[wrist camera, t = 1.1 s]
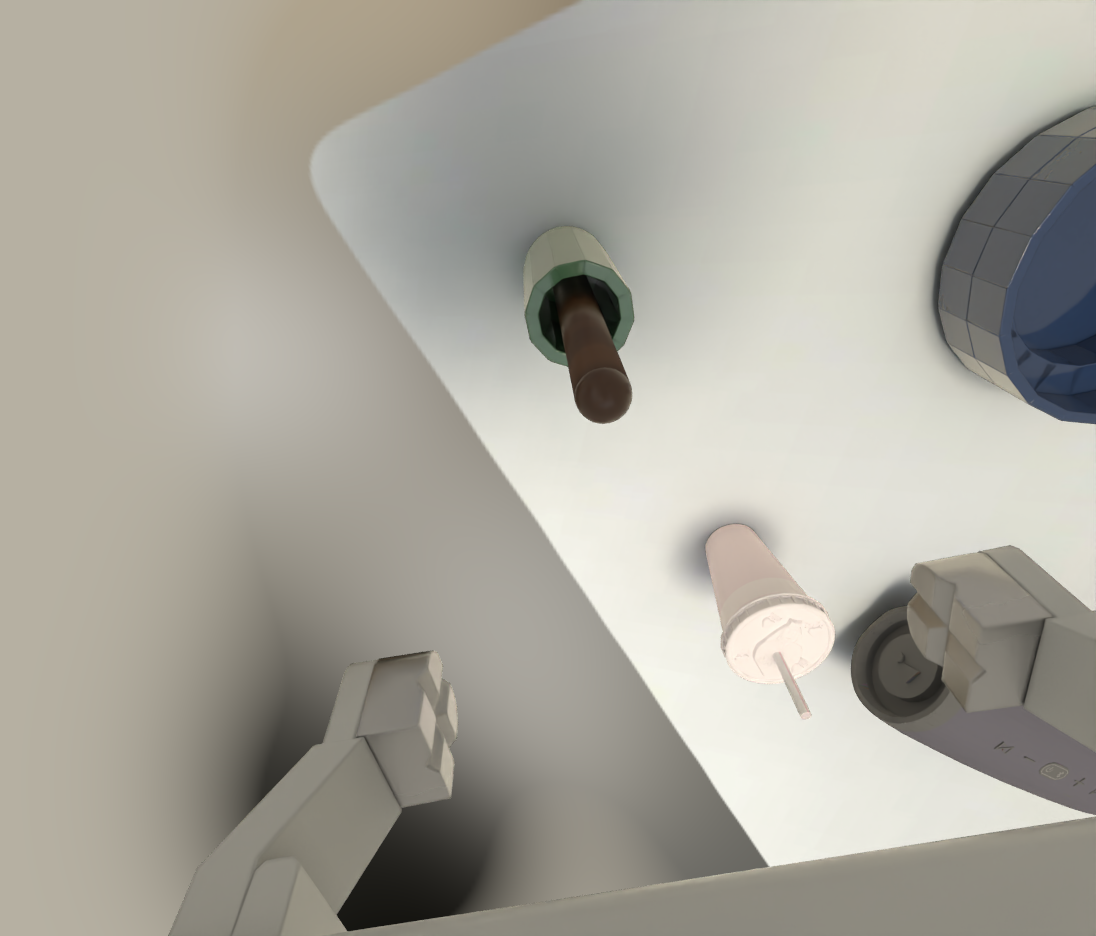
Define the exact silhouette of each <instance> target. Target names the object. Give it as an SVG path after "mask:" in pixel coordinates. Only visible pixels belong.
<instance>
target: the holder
mask: <svg viewBox="0 0 1096 936" xmlns="http://www.w3.org/2000/svg"><path fill="white" fill-rule="evenodd" d="M579 275H586V277H587V279H588V282H589V284H590V286H591V289H592V291H593V294H594V296H595V299H596V301H597V304H598V306H599V308H600V311H601V313H602V316H603V318H604V321H605V323H606V326H607V328H608V330H609V333H610V335H611V338H612V340H613V343H614V345H615V348H616V350H617V351H618V350H619V349H620V348H622V347H623V345H624V344H625V342H626V339H627V337H628V335H629V332H630V330H631V327H632V325H633V322H634V311H633V303H632V296H631V292H630V289H629V288H628V286H627V285H626V283H625V281H624V280H623V278H622V276H621V275H620V273H619V272H618V270H617V268H616V267H615V265H614V263H613V262H612V260H611V259H610V257H609V255H608V254H607V252H606V251H605V249H604V248H603V247H602V246H601V244H600V243H599V241H598V240H597V239H596V238H595V237H594V236H593V235H592V234H590V233H589V232H587V231H585V230H583V229H581V228H577V227H572V226H561V227H556V228H553V229H550V230H548V231H546V232H545V233H543V234H542V235H541V236H539V237H538V238H537V239H536V240H535V241H534V243H533V244H532V245H531V247H530V249H529V251H528V253H527V255H526V259H525V264H524V268H523V285H524V312H525V319H526V324H527V328H528V333H529V337H530V340H531V342H532V343H533V344H534V345H535V347H536V348H537V349H538V350H539V351H540V352H541V353H542V354H543V355H544V356H545V357H546V358H547V359H548V360H549V361H551V362H554V363H557V364H561V365H564V366H567V367H568V363H567V358H566V353H565V348H564V343H563V338H562V333H561V327H560V322H559V317H558V312H557V307H556V302H555V297H554V292H553V287H554V286H555V285H556V284H557V283H558V282H559V281H561V280H562V279H565V278H570V277H575V276H579Z"/></svg>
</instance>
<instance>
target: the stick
mask: <svg viewBox="0 0 1096 936" xmlns="http://www.w3.org/2000/svg"><path fill="white" fill-rule="evenodd" d="M553 292H554V297H555V302H556V307H557V312H558V317H559V322H560V327H561V333H562V338H563V343H564V348H565V353H566V358H567V363H568V368H569V373H570V378H571V383H572V388H573V393H574V398H575V403H576V406H577V408H578V409H579V411H580V413H581V414H582V415H583V416H584V417H586V418H587V419H588V420H590V421H592V422H595V423H600V424H605V423H611V422H614V421H616V420H618V419H620V418H621V417H622V416H623V415H624V414H625V413H626V412H627V410H628V409H629V406H630V404H631V401H632V388H631V384H630V382H629V379H628V377H627V374H626V372H625V370H624V367H623V365H622V362H621V360H620V357H619V355H618V352H617V350H616V348H615V345H614V343H613V340H612V338H611V335H610V333H609V330H608V328H607V326H606V323H605V321H604V318H603V316H602V313H601V311H600V308H599V306H598V304H597V301H596V299H595V296H594V294H593V291H592V289H591V286H590V284H589V282H588V279H587V277H586V275H579V276H575V277H570V278H565V279H562V280H561V281H559V282H558V283H557V284H556V285H555V286H554V287H553Z"/></svg>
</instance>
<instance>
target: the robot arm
mask: <svg viewBox="0 0 1096 936" xmlns="http://www.w3.org/2000/svg"><path fill="white" fill-rule="evenodd" d="M910 583H911V584H912V586H913V587H914V588H915V589H916V590H917V593H916V594H915V595H914V596H913V598H912V599H911V600H910V601H909V602H908V608H907V620H908V625H909V629H910V633H911V635H912V638H913V640H914V642H915V644H916V646H917V647H918V649H919V650H920V651H921V653H922V654H923V656H924V657H925V658H926V659H928V660H930V661H932V662H934V663H935V664H937V665H939V666H941V667H943V672H942V679H941V680H942V681H943V683H944V684H945V685H946V687H947V688H948V689H949V691H950V692H951V693H952V694H953V696H954V697H955V698H956V700H957V701H958V702H959V704H960V705H961V706H962V708H963V709H964V710H965V712H966V713H971V712H979V711H986V710H993V709H1001V708H1008V707H1015V706H1022V705H1024V707H1023V708H1024V709H1025V710H1027V711H1029V712H1030V713H1032V714H1034V715H1035V716H1037V717H1039V718H1040V719H1042V720H1043V721H1045V722H1047V723H1048V724H1050V725H1052V726H1053V727H1055V728H1057V729H1058V730H1060V731H1061V732H1063V733H1065V734H1066V735H1068V736H1070V737H1071V738H1073V739H1075V740H1076V741H1078V742H1079V743H1081V744H1083V745H1084V746H1086V747H1088V748H1089V749H1091V750H1093V751H1094V752H1096V611H1091V610H1090V609H1089V608H1088V607H1086V606H1085V605H1084V604H1083V603H1082V602H1081V601H1079V600H1078V599H1077V598H1076V597H1075V596H1074V595H1072V594H1071V593H1070V592H1069V591H1068V590H1067V589H1066V588H1064V587H1063V586H1062V585H1061V584H1060V583H1059V582H1057V581H1056V580H1055V579H1054V578H1053V577H1052V576H1050V575H1049V574H1048V573H1047V572H1046V571H1045V570H1044V569H1042V568H1041V567H1040V566H1039V565H1038V564H1037V563H1035V562H1034V561H1033V560H1032V559H1031V558H1030V557H1029V556H1027V555H1026V554H1025V553H1024V552H1023V551H1022V550H1020V549H1019V548H1016V547H1014V546H1011V545H1009V546H1004V547H999V548H994V549H989V550H984V551H979V552H977V553H969V554H964V555H959V556H953V557H948V558H943V559H937V560H932V561H927V562H921V563H916V564H915V566H914V567H913V569H912V570H911V578H910ZM442 671H443V664H442V662H441V660H440V657H439V655H438V653H437V652H436V651H426V652H420V653H413V654H407V655H401V656H394V657H388V658H381V659H378V660H373V661H366V662H359V663H352V664H350V666H349V667H348V668H347V669H346V671H345V673H344V676H343V679H342V683H341V686H340V689H339V692H338V696H337V699H336V702H335V705H334V709H333V712H332V715H331V718H330V721H329V725H328V728H327V731H326V734H325V738H324V741H323V744H319V745H314V746H313V747H312V748H311V749H310V750H309V751H308V752H307V753H306V754H305V755H304V757H303V758H302V759H301V760H300V761H299V762H298V763H297V764H296V765H295V766H294V767H293V768H292V769H291V770H290V771H289V772H288V774H286V775H285V777H284V778H283V779H282V780H281V781H280V782H279V783H278V784H277V785H276V786H275V787H274V788H273V789H272V790H271V791H270V792H269V793H268V794H267V795H266V796H265V797H264V798H263V800H262V801H261V802H260V803H259V804H258V805H257V806H256V807H255V808H254V809H253V810H252V811H251V812H250V813H249V814H248V815H247V816H246V817H245V819H243V821H242V822H241V823H240V824H239V825H238V826H237V827H236V828H235V829H234V830H233V831H232V832H231V833H230V834H229V835H228V836H227V837H226V838H225V839H224V841H222V843H221V844H220V845H219V846H218V847H217V848H216V849H215V850H214V851H213V852H212V853H211V854H210V856H208V857H207V858H206V859H205V860H204V861H203V862H202V864H201V865H200V866H199V867H198V868H197V869H196V872H195V874H194V876H193V879H192V881H191V883H190V886H189V888H188V891H187V893H186V895H185V898H184V900H183V902H182V905H181V907H180V909H179V912H178V914H177V916H176V919H175V921H174V923H173V926H172V928H171V930H170V933H169V935H168V936H1096V817H1090V818H1084V819H1077V820H1071V821H1064V822H1058V823H1051V824H1045V825H1038V826H1032V827H1025V828H1019V829H1012V830H1006V831H999V832H993V833H986V834H980V835H973V836H967V837H961V838H954V839H948V840H941V841H935V842H928V843H922V844H915V845H909V846H902V847H896V848H889V849H883V850H876V851H870V852H864V853H857V854H851V855H844V856H838V857H831V858H825V859H818V860H812V861H805V862H799V863H792V864H786V865H779V866H773V867H766V868H760V869H754V870H747V871H741V872H735V873H727V874H721V875H714V876H708V877H701V878H695V879H689V880H681V881H676V882H668V883H662V884H655V885H649V886H643V887H636V888H629V889H623V890H616V891H610V892H603V893H597V894H591V895H584V896H577V897H571V898H564V899H558V900H551V901H545V902H538V903H532V904H525V905H519V906H512V907H506V908H499V909H493V910H486V911H479V912H473V913H467V914H460V915H454V916H447V917H440V918H434V919H427V920H422V921H415V922H409V923H401V924H395V925H388V926H382V927H375V928H369V929H363V930H356V931H349V932H347V930H346V929H345V927H344V926H343V924H342V923H341V922H340V920H339V919H338V917H337V916H336V915H337V913H338V912H339V910H340V908H341V907H342V905H343V904H344V902H345V900H346V899H347V897H348V896H349V894H350V892H351V891H352V889H353V888H354V886H355V884H356V883H357V881H358V880H359V878H360V877H361V875H362V873H363V872H364V870H365V869H366V867H367V866H368V864H369V862H370V861H371V859H372V858H373V856H374V854H375V853H376V851H377V850H378V848H379V846H380V845H381V843H382V842H383V840H384V838H385V837H386V835H387V834H388V832H389V831H390V829H391V827H392V826H393V824H394V823H395V821H396V819H397V818H398V816H399V815H400V813H401V811H402V810H401V808H403V807H408V806H413V805H418V804H423V803H429V802H434V801H439V800H444V799H449V798H451V793H452V783H453V774H454V764H455V762H454V759H453V756H452V754H451V752H450V749H449V748H450V747H451V745H452V744H453V743H454V742H455V740H456V739H457V730H458V715H457V705H456V700H455V696H454V692H453V689H452V687H451V684H450V683H449V682H447V681H445V680H444V679H442Z"/></svg>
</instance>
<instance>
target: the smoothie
mask: <svg viewBox="0 0 1096 936" xmlns="http://www.w3.org/2000/svg"><path fill="white" fill-rule="evenodd" d="M705 552H706V556H707V561H708V565H709V570H710V575H711V579H712V584H713V588H714V593H715V598H716V602H717V607H718V611H719V616H720V622H721V626H722V630H723V632H722V635H721V649H722V651H723V654H724V656H725V658H726V660H727V663H728V665H729V667H730V668H731V669H732V671H733V672H734V673H736V674H737V675H738V676H740V677H741V678H743V679H745V680H748V681H751V682H755V683H761V684H777V683H783V682H785V684H786V686H787V689H788V691H789V693H790V695H791V697H792V699H793V701H794V704H795V706H796V708H797V710H798V712H799V714H800V717H801V718H802V719H809V718H810V717H811V712H810V710H809V708H808V706H807V704H806V702H805V700H804V698H803V696H802V694H801V692H800V690H799V688H798V685H797V683H796V681H795V679H797V678H800V677H802V676H804V675H806V674H808V673H809V672H811V671H812V670H814V669H815V668H816V667H818V666H819V665H820V664H821V663H822V662H823V661H824V660H825V659H826V657H827V656H828V655H829V653H830V651H831V649H832V647H833V644H834V640H835V630H834V626H833V623H832V622H831V620H830V618H829V616H828V612H827V611H826V610H825V608H824V607H823V606H822V604H820V603H819V602H817V601H816V600H814V599H813V598H811V597H809V596H807V595H806V593H805V592H804V591H803V590H802V588H801V587H800V586H799V585H798V584H797V583H796V582H795V580H794V579H793V578H792V577H791V575H790V574H789V573H788V572H787V571H786V569H785V568H784V567H783V566H782V565H781V563H780V562H779V561H778V560H777V559H776V557H775V556H774V555H773V554H772V553H771V551H770V550H769V549H768V548H767V547H766V545H765V544H764V543H763V542H762V541H761V539H760V538H759V537H758V536H757V534H756V533H755V532H754V531H753V530H752V529H751V528H749V527H748V526H745V525H742V524H730V525H726V526H723V527H721V528H719V529H717V530H716V531H714V532H713V533H712V534H711V535H710V537H709V538H708V540H707V542H706V546H705Z"/></svg>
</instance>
